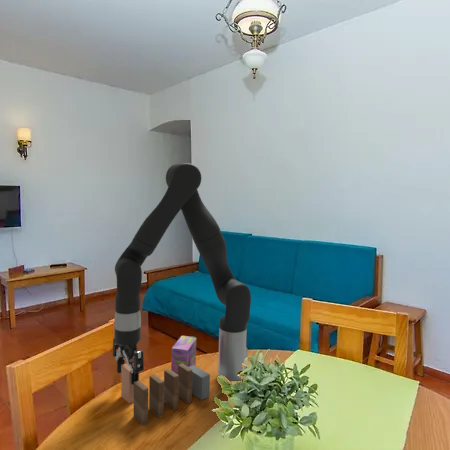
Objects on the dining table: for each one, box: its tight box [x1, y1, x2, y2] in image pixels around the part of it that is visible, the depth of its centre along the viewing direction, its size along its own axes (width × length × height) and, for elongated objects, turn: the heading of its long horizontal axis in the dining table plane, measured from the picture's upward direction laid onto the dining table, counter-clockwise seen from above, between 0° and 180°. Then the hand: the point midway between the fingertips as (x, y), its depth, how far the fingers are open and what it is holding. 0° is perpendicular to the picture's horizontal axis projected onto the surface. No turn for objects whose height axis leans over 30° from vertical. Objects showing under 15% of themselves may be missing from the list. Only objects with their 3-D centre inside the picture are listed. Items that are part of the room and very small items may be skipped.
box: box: [170, 335, 197, 374], centre depth 121 cm, size 10×6×12 cm, turn 168°
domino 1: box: [133, 379, 149, 426], centre depth 97 cm, size 2×5×10 cm, turn 44°
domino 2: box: [148, 374, 165, 418], centre depth 101 cm, size 2×5×10 cm, turn 44°
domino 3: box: [163, 368, 179, 411], centre depth 104 cm, size 2×5×10 cm, turn 44°
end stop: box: [189, 365, 211, 401], centre depth 111 cm, size 3×8×7 cm, turn 44°
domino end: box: [120, 363, 134, 404], centre depth 107 cm, size 2×5×10 cm, turn 44°
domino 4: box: [178, 363, 193, 404], centre depth 108 cm, size 2×5×10 cm, turn 44°
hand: (127, 377), depth 106 cm, fingers open, 8 cm apart
